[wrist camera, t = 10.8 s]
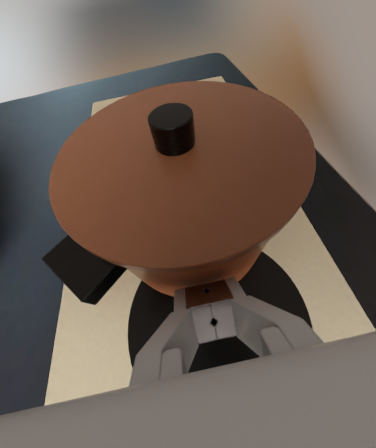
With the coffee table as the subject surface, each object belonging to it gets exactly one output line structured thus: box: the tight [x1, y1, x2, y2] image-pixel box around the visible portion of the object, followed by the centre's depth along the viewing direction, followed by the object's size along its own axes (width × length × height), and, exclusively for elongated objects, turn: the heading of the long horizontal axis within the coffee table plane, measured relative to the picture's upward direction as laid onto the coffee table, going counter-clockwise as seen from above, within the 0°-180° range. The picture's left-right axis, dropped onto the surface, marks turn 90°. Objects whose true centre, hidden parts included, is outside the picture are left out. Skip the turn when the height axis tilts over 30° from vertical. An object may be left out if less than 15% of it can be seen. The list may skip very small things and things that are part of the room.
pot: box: [42, 81, 316, 305], centre depth 13 cm, size 16×13×11 cm
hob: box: [45, 76, 376, 405], centre depth 21 cm, size 22×41×1 cm, turn 10°
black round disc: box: [128, 252, 313, 373], centre depth 14 cm, size 13×13×1 cm
